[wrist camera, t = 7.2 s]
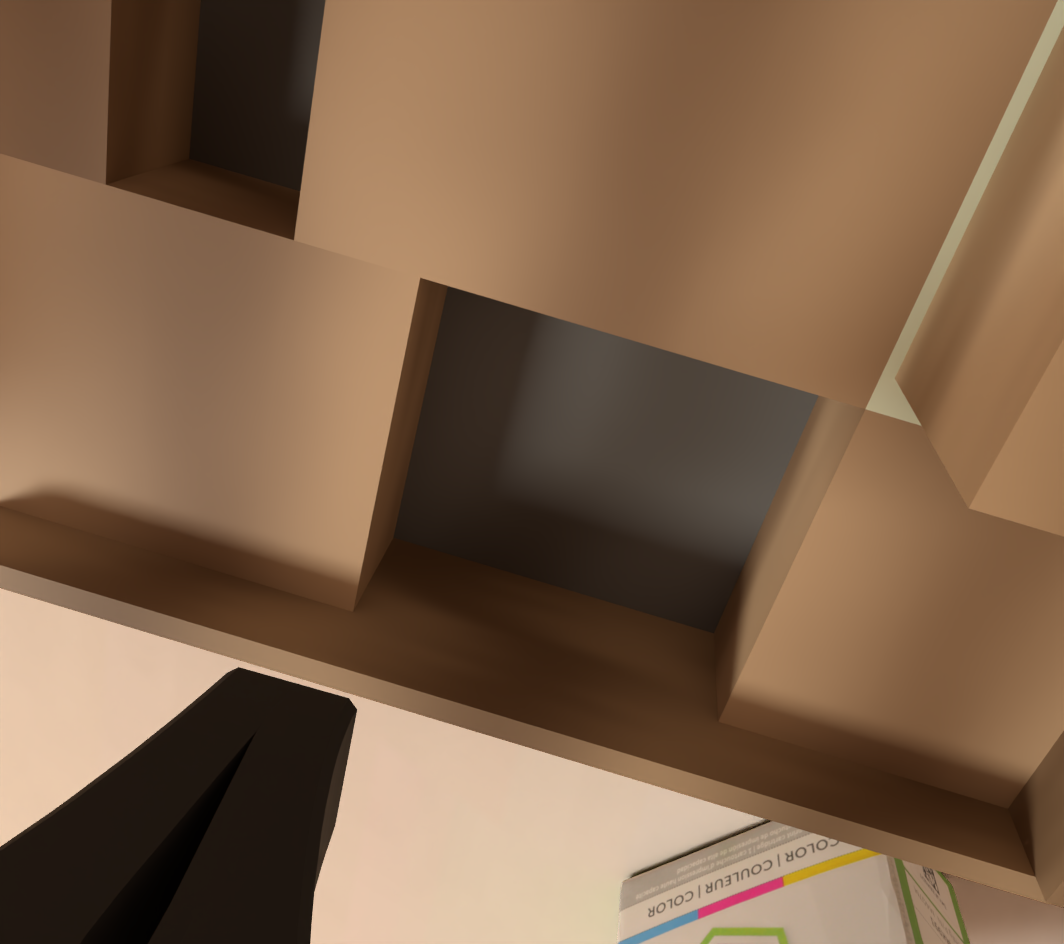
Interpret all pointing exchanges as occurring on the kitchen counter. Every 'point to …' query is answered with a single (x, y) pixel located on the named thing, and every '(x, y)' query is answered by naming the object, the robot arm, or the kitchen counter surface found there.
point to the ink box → (789, 895)
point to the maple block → (1004, 330)
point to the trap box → (541, 383)
